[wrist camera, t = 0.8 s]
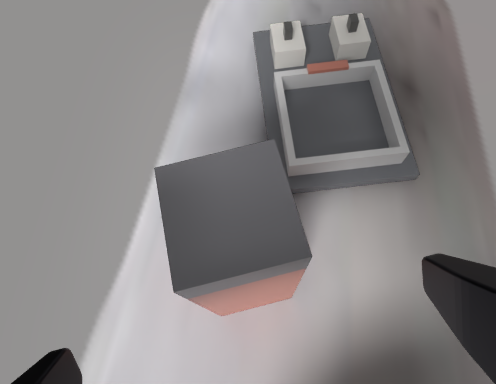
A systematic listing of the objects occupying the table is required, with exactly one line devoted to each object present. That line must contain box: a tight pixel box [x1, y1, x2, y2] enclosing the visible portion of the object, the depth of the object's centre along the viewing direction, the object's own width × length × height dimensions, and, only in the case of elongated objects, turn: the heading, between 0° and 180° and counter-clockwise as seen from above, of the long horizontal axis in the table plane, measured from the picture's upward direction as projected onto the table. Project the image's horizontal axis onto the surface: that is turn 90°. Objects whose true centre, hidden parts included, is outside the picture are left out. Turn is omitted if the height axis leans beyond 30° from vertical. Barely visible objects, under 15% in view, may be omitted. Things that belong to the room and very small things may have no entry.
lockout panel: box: [253, 13, 420, 193], centre depth 26 cm, size 15×10×4 cm, turn 6°
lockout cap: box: [154, 139, 312, 316], centre depth 18 cm, size 5×5×12 cm
